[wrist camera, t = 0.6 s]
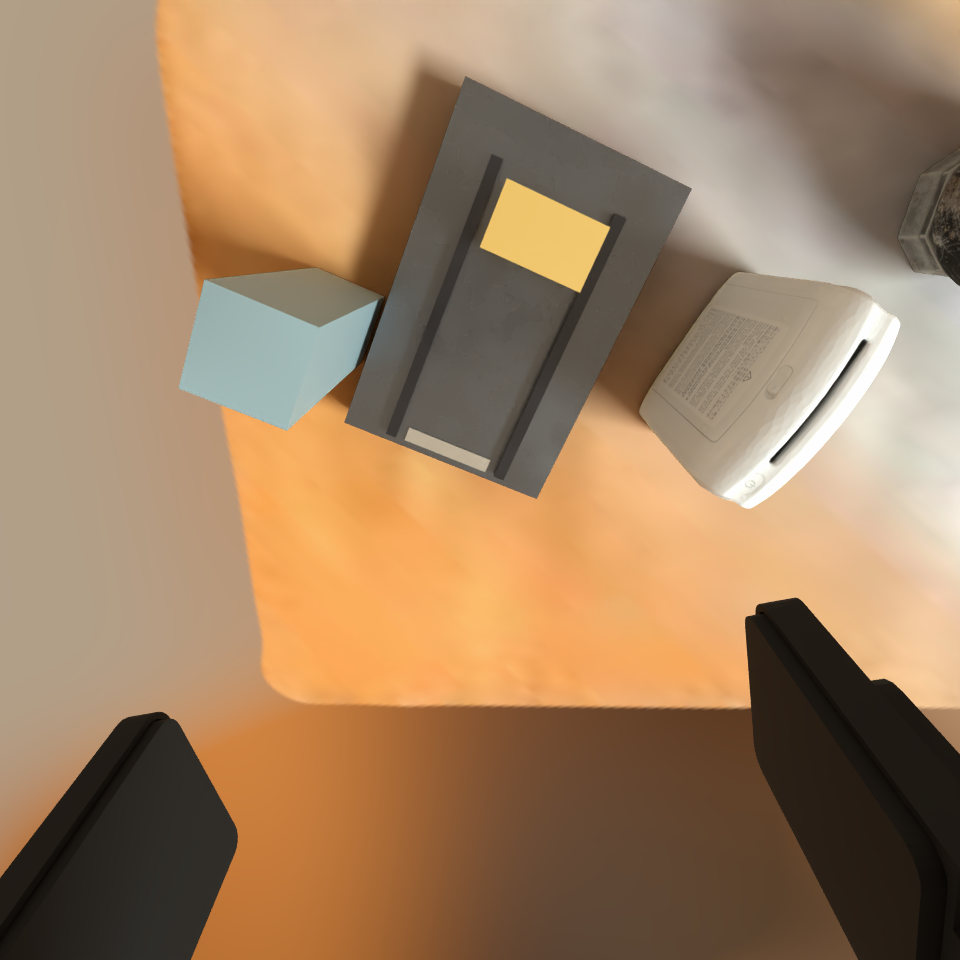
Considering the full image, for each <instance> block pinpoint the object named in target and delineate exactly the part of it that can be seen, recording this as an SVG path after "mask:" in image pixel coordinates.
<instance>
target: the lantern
mask: <svg viewBox="0 0 960 960" xmlns="http://www.w3.org/2000/svg"><path fill="white" fill-rule="evenodd" d="M898 240H899V242H900V244H901V246H902V248H903V250H904V252H905V254H906V256H907V258H908V260H909V262H910V264H911V266H912V268H913V270H914V271H915V272H918V273H925V274H932V275H940V276H947V277H950V278H951V279H952V280H953V281H954V282H955V283H956V284H957V285H959V286H960V148H959V149H957V150H956V151H954V152H953V153H951V154H950V155H948V156H947V157H945V158H944V159H943V160H941V161H940V162H938V163H937V164H935V165H934V166H932V167H931V168H929V169H928V170H927V171H925V172H924V173H922V174H921V175H920V176H919V179H918V182H917V185H916V187H915V190H914V193H913V196H912V199H911V201H910V204H909V207H908V210H907V212H906V215H905V218H904V221H903V224H902V226H901V229H900V232H899V235H898Z"/></svg>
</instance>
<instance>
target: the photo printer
mask: <svg viewBox="0 0 960 960" xmlns="http://www.w3.org/2000/svg"><path fill="white" fill-rule="evenodd" d="M899 328H900V321H899V320H898V319H897V318H896V316H894V315H892V314H890V313H888V312H886V311H884V310H883V309H882V307H881V306H880V305H879V303H878V302H877V301H876V300H875V299H874V298H872V297H871V296H870V295H868V294H867V293H865V292H863V291H860V290H858V289H855V288H851V287H846V286H839V285H833V284H830V283H825V282H818V281H810V280H801V279H793V278H785V277H777V276H769V275H761V274H754V273H746V272H736V273H735V274H734V275H732V276H731V277H730V278H729V279H728V280H727V281H726V282H725V283H724V285H723V286H722V287H721V288H720V289H719V290H718V292H717V293H716V294H715V295H714V297H713V298H712V299H711V301H710V302H709V304H708V305H707V306H706V308H705V309H704V310H703V312H702V313H701V315H700V316H699V317H698V319H697V320H696V322H695V323H694V324H693V326H692V327H691V329H690V330H689V332H688V333H687V334H686V336H685V337H684V339H683V340H682V342H681V343H680V345H679V346H678V347H677V349H676V350H675V352H674V353H673V355H672V356H671V358H670V359H669V361H668V362H667V363H666V365H665V366H664V368H663V370H662V371H661V372H660V374H659V375H658V377H657V378H656V380H655V382H654V383H653V385H652V386H651V388H650V390H649V391H648V393H647V395H646V396H645V398H644V400H643V402H642V404H641V407H640V410H639V414H640V415H641V417H642V418H643V419H644V420H645V421H646V423H647V425H648V426H649V427H650V429H651V430H652V431H653V432H654V433H655V434H656V436H657V437H658V438H659V439H660V440H661V441H662V443H663V444H664V445H665V446H666V447H667V448H668V450H669V451H670V452H671V453H672V454H673V455H674V457H675V458H676V459H677V460H678V461H679V462H680V464H681V465H682V466H683V467H684V468H685V469H686V471H687V472H688V473H689V474H690V475H691V476H692V477H693V478H694V480H695V481H696V482H697V483H698V484H699V485H700V486H701V487H703V488H704V489H706V490H708V491H709V492H711V493H712V494H714V495H716V496H718V497H720V498H722V499H724V500H730V501H734V502H736V503H737V504H738V505H740V506H742V507H744V508H752V507H754V506H756V505H757V504H759V503H760V502H762V501H763V500H765V499H766V498H768V497H769V496H771V495H772V494H773V493H775V492H776V491H777V490H778V489H779V488H781V487H782V486H783V485H784V484H785V483H786V482H787V481H789V480H790V479H791V478H792V477H793V476H794V475H795V474H796V473H797V472H798V471H799V470H800V469H801V468H802V467H803V466H804V465H805V464H806V463H807V462H808V461H809V460H810V459H811V458H812V457H813V456H814V455H815V454H816V453H817V452H818V450H819V449H820V448H821V447H822V446H823V445H824V444H825V443H826V441H827V440H828V439H829V438H830V437H831V436H832V434H833V433H834V432H835V431H836V430H837V428H838V427H839V426H840V425H841V424H842V423H843V421H844V420H845V419H846V417H847V416H848V415H849V413H850V412H851V411H852V410H853V408H854V407H855V405H856V404H857V403H858V401H859V400H860V399H861V397H862V396H863V394H864V393H865V392H866V390H867V389H868V387H869V386H870V384H871V383H872V381H873V380H874V378H875V377H876V375H877V373H878V372H879V370H880V368H881V367H882V365H883V363H884V362H885V360H886V358H887V356H888V354H889V352H890V350H891V348H892V346H893V343H894V341H895V339H896V336H897V334H898V331H899Z"/></svg>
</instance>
